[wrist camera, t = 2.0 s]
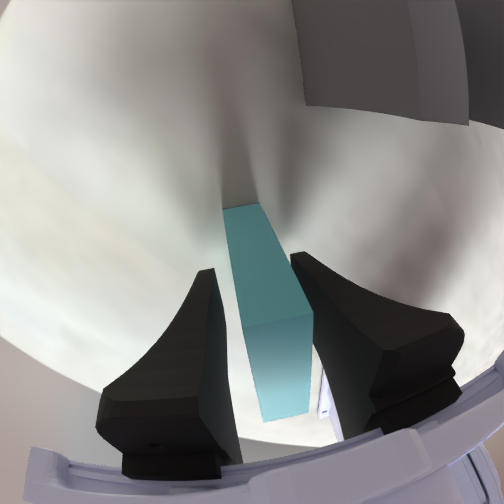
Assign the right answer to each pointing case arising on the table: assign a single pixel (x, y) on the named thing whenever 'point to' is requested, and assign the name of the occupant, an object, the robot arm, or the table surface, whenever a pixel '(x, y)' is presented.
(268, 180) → the table surface
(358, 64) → the domino
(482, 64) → the domino
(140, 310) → the table surface
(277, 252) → the domino
